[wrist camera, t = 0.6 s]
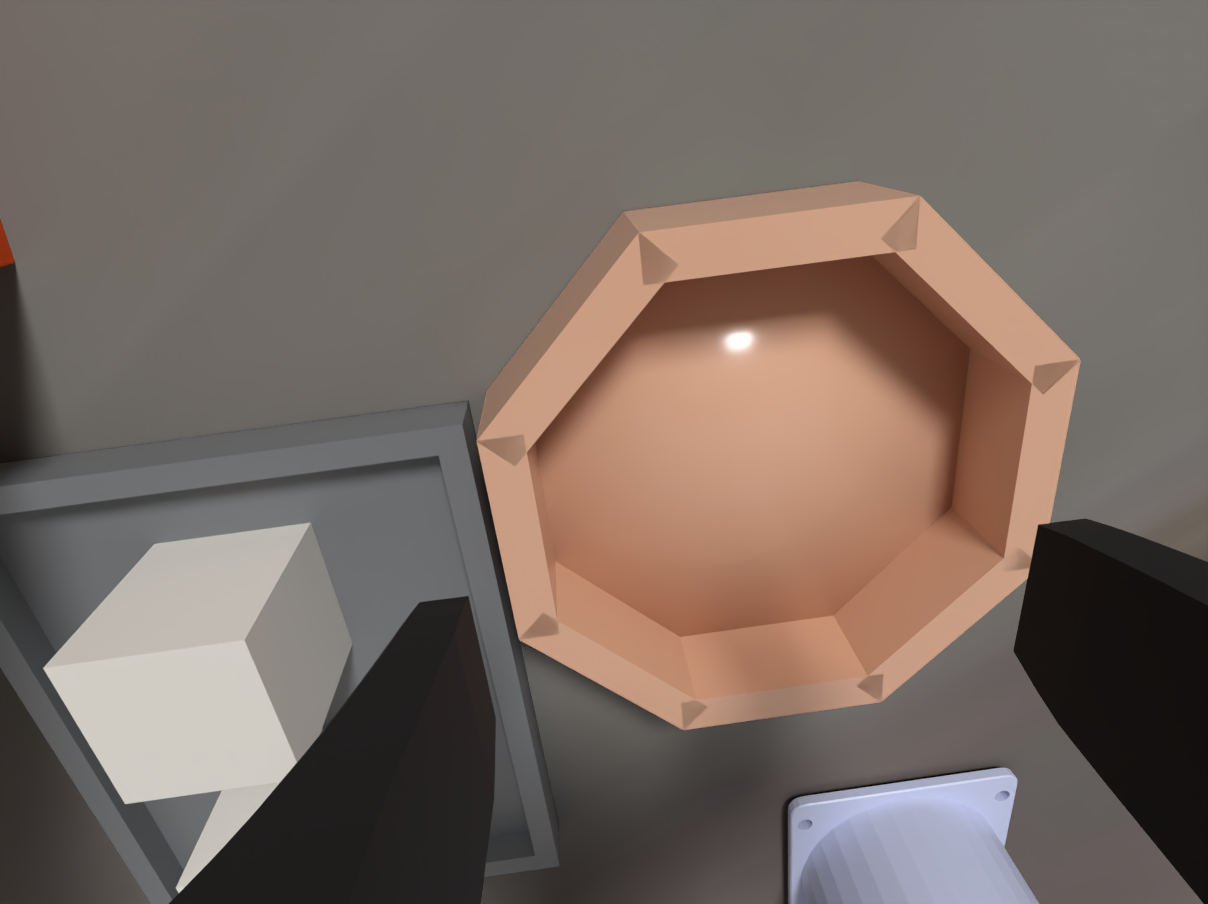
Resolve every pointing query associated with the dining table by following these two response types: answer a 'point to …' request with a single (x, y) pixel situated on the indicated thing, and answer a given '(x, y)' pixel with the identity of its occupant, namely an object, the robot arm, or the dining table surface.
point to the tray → (352, 557)
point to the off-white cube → (207, 664)
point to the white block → (224, 825)
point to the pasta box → (5, 249)
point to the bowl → (772, 453)
